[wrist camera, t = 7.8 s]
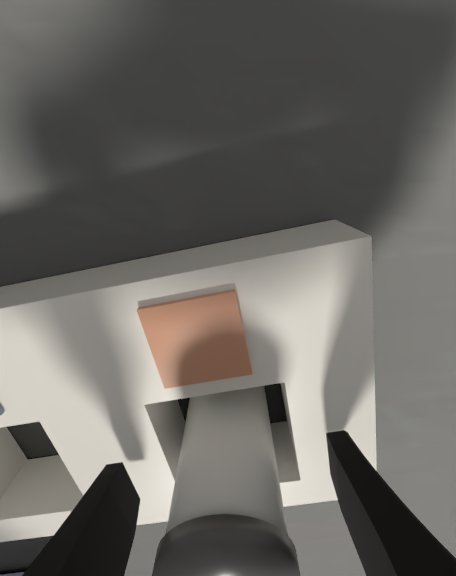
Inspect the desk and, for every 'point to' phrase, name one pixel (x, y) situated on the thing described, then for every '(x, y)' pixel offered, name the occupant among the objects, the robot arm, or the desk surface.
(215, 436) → the plug
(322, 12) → the desk surface
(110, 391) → the white flat block
